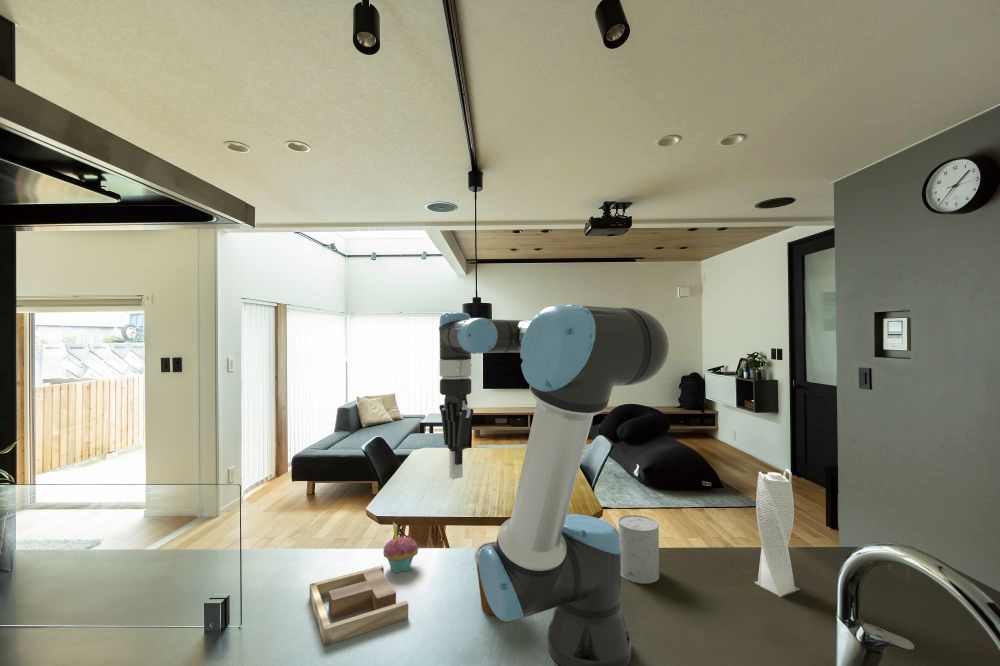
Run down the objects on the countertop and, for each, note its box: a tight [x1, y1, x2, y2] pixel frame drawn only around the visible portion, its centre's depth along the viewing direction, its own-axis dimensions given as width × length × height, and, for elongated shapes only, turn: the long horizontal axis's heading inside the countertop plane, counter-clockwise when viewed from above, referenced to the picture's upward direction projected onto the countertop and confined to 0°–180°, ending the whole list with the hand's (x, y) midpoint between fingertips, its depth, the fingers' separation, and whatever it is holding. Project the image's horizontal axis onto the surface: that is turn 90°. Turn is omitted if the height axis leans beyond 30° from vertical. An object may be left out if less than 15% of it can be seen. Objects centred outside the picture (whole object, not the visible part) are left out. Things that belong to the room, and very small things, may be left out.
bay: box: [309, 565, 409, 647], centre depth 96 cm, size 18×16×3 cm
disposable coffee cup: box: [473, 540, 497, 616], centre depth 96 cm, size 10×10×12 cm
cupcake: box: [383, 520, 419, 573], centre depth 113 cm, size 9×8×12 cm
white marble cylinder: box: [618, 514, 660, 585], centre depth 110 cm, size 10×10×12 cm
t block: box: [328, 568, 397, 621], centre depth 96 cm, size 12×12×4 cm
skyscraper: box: [753, 468, 801, 598], centre depth 104 cm, size 8×8×28 cm
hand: (456, 477), depth 106 cm, fingers closed
